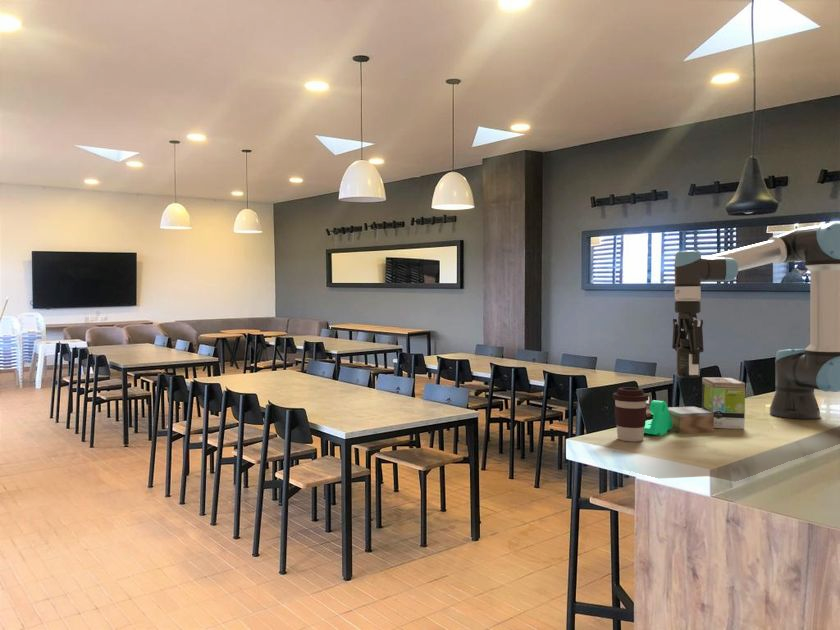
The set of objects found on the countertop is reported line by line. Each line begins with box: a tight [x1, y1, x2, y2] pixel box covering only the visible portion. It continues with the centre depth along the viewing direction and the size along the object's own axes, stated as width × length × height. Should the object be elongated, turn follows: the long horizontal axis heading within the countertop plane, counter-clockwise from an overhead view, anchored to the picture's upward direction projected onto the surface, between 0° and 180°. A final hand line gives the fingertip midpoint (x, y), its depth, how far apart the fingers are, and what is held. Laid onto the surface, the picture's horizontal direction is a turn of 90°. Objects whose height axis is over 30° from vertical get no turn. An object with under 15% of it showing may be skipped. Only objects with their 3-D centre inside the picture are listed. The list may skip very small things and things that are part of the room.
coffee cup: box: [612, 386, 649, 443], centre depth 190 cm, size 10×10×15 cm
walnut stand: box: [667, 406, 715, 434], centre depth 204 cm, size 11×11×6 cm
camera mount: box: [644, 399, 672, 436], centre depth 199 cm, size 12×8×10 cm, turn 134°
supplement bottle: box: [675, 337, 701, 379], centre depth 203 cm, size 7×7×12 cm
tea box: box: [701, 376, 746, 430], centre depth 210 cm, size 15×10×15 cm, turn 168°
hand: (687, 373), depth 203 cm, fingers closed on supplement bottle, 7 cm apart
